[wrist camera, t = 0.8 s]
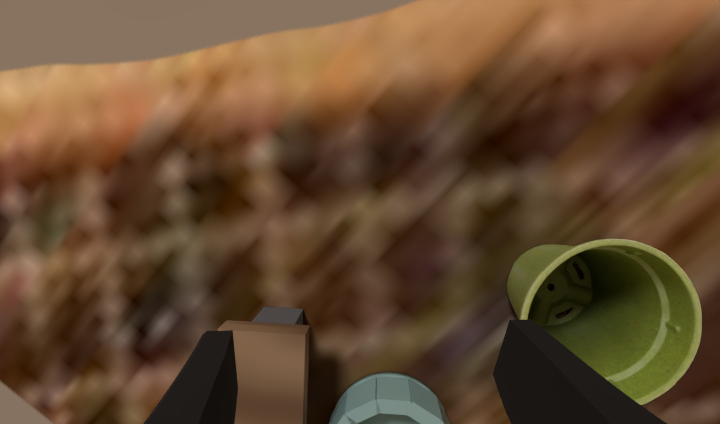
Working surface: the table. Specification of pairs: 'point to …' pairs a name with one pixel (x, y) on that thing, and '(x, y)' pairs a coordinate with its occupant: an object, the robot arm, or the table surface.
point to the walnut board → (270, 371)
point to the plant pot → (613, 310)
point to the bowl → (389, 402)
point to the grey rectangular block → (280, 316)
